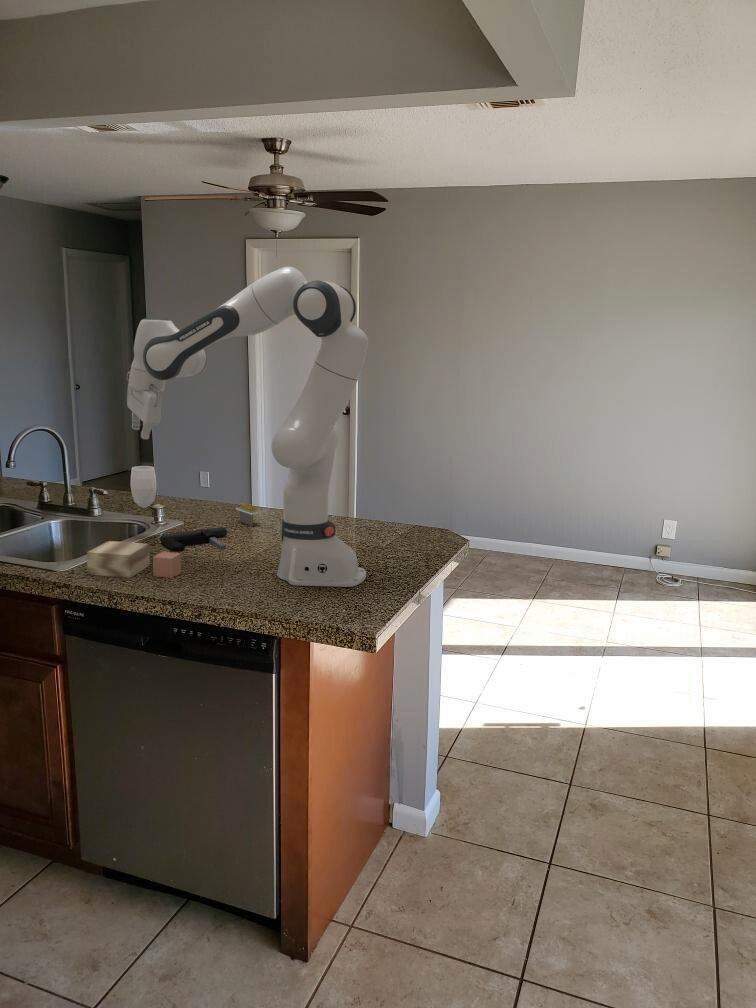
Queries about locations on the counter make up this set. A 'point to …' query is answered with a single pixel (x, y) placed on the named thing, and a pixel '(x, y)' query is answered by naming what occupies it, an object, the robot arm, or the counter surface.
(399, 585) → the counter surface
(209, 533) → the black clamp
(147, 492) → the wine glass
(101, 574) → the birch box
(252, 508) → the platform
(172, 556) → the terracotta block
